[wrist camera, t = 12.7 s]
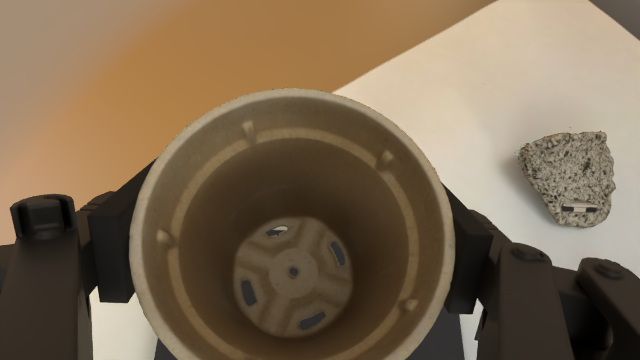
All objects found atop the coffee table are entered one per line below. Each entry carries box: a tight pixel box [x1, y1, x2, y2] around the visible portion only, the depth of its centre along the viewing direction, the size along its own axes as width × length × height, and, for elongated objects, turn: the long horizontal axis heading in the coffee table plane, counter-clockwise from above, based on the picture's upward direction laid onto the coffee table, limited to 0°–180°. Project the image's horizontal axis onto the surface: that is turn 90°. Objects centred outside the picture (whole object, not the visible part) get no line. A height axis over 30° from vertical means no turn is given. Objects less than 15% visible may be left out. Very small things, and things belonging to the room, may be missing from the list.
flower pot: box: [129, 88, 455, 360], centre depth 15 cm, size 9×9×9 cm
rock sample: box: [515, 127, 616, 228], centre depth 33 cm, size 10×8×9 cm
